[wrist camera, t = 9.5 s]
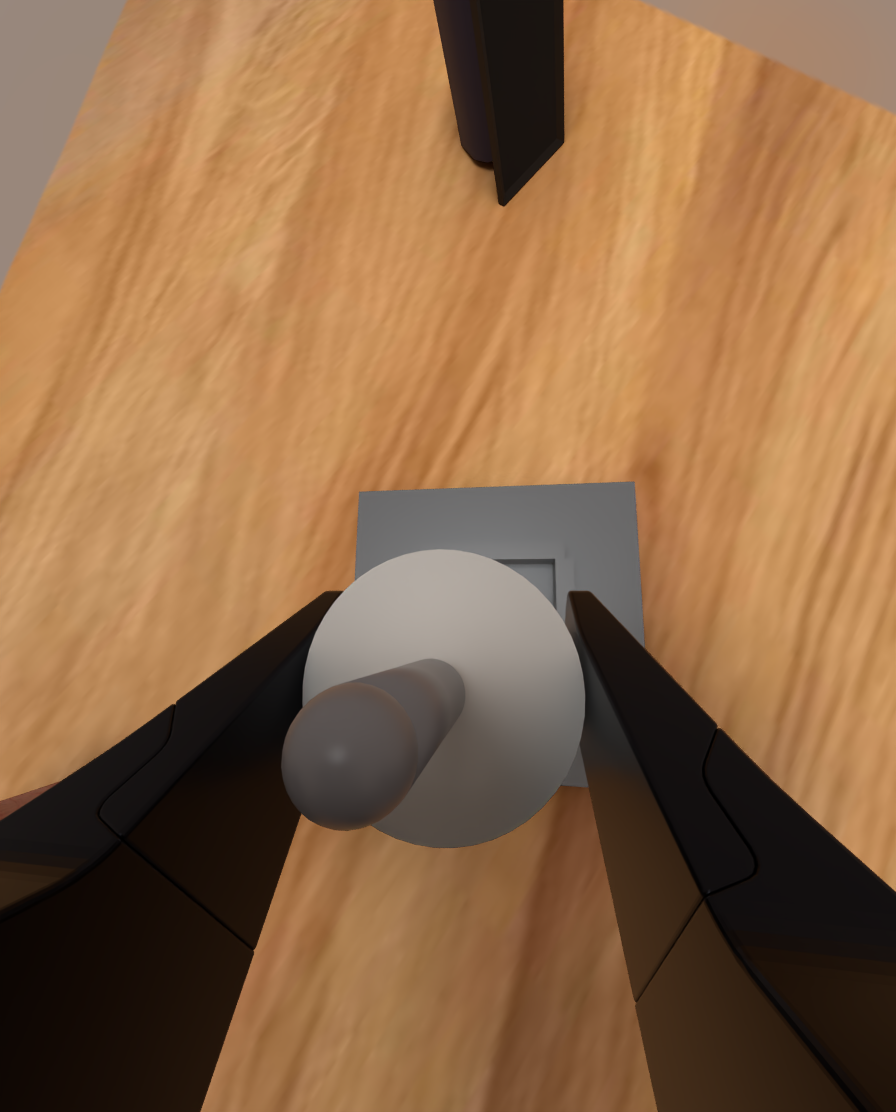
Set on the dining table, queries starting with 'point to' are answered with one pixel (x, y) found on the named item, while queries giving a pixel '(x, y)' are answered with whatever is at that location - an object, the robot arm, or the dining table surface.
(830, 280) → the dining table surface
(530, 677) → the plug
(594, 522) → the dock
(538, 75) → the speaker
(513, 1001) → the dining table surface
